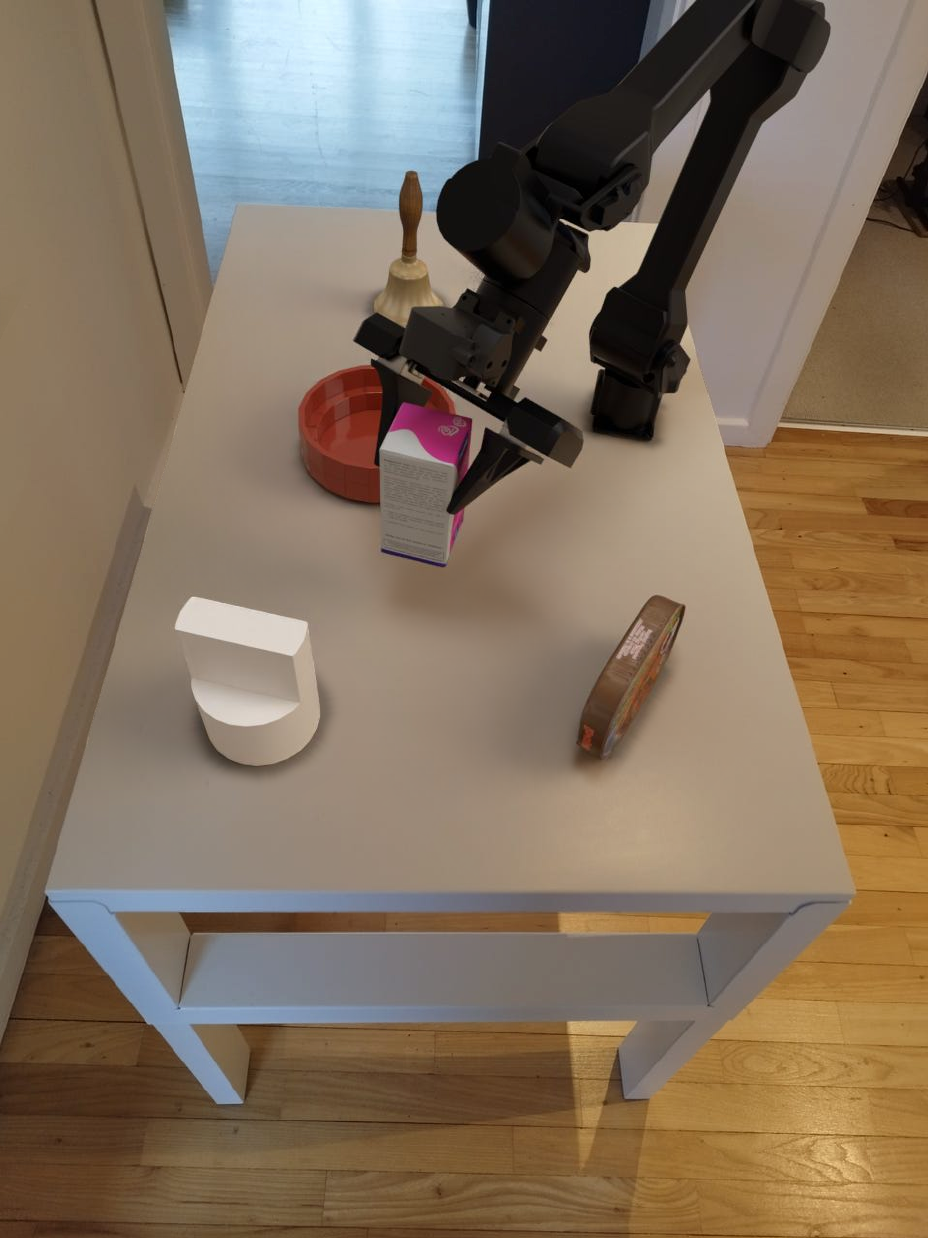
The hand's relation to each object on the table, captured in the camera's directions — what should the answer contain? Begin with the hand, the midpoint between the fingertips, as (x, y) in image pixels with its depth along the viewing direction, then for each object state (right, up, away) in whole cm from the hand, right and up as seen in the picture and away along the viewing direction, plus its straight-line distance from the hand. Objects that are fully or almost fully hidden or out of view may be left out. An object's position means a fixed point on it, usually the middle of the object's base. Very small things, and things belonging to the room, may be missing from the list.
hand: (413, 489), depth 68 cm
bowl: (-5, +7, +22) cm, 23 cm away
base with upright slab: (-12, -18, +3) cm, 22 cm away
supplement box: (+1, -3, +6) cm, 7 cm away
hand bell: (-3, +27, +37) cm, 46 cm away
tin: (+17, -17, +5) cm, 25 cm away
